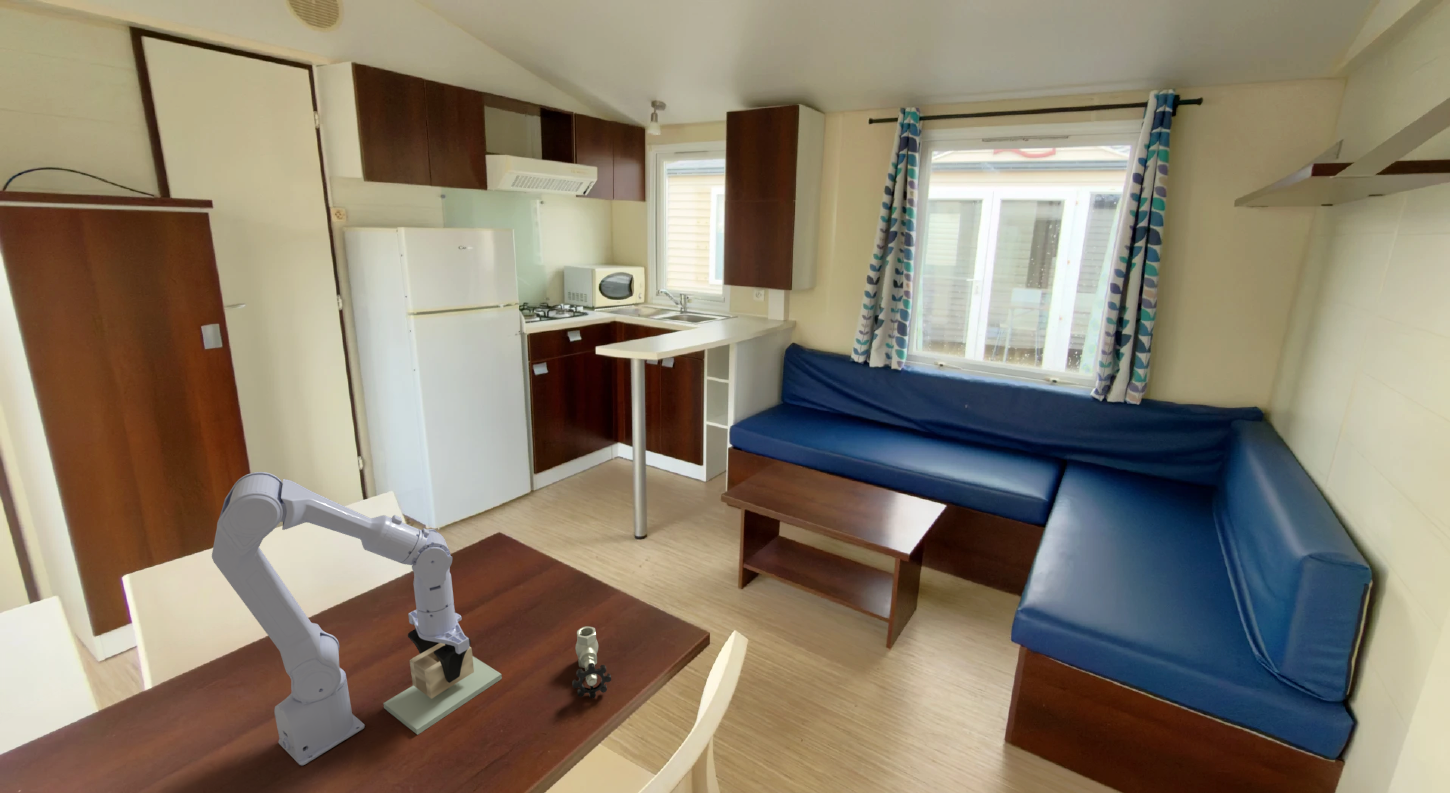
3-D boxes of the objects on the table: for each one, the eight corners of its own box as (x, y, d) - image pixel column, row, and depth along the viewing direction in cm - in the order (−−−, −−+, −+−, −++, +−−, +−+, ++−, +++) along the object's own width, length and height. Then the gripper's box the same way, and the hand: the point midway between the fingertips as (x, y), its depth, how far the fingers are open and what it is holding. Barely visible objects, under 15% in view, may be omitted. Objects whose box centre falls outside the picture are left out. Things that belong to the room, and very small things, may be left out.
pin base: (417, 734, 101) (414, 713, 100) (384, 708, 106) (381, 688, 105) (501, 678, 114) (500, 659, 113) (468, 657, 119) (466, 639, 118)
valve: (568, 658, 120) (573, 702, 109) (567, 628, 118) (571, 669, 107) (603, 652, 122) (611, 695, 110) (602, 622, 120) (610, 663, 109)
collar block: (431, 698, 104) (428, 673, 103) (412, 685, 107) (409, 659, 106) (473, 671, 111) (471, 647, 110) (455, 659, 114) (452, 635, 113)
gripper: (482, 606, 105) (488, 675, 108) (432, 578, 112) (439, 644, 116) (443, 627, 99) (451, 699, 102) (393, 596, 107) (402, 664, 110)
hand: (442, 671), depth 109 cm, fingers closed on collar block, 6 cm apart
